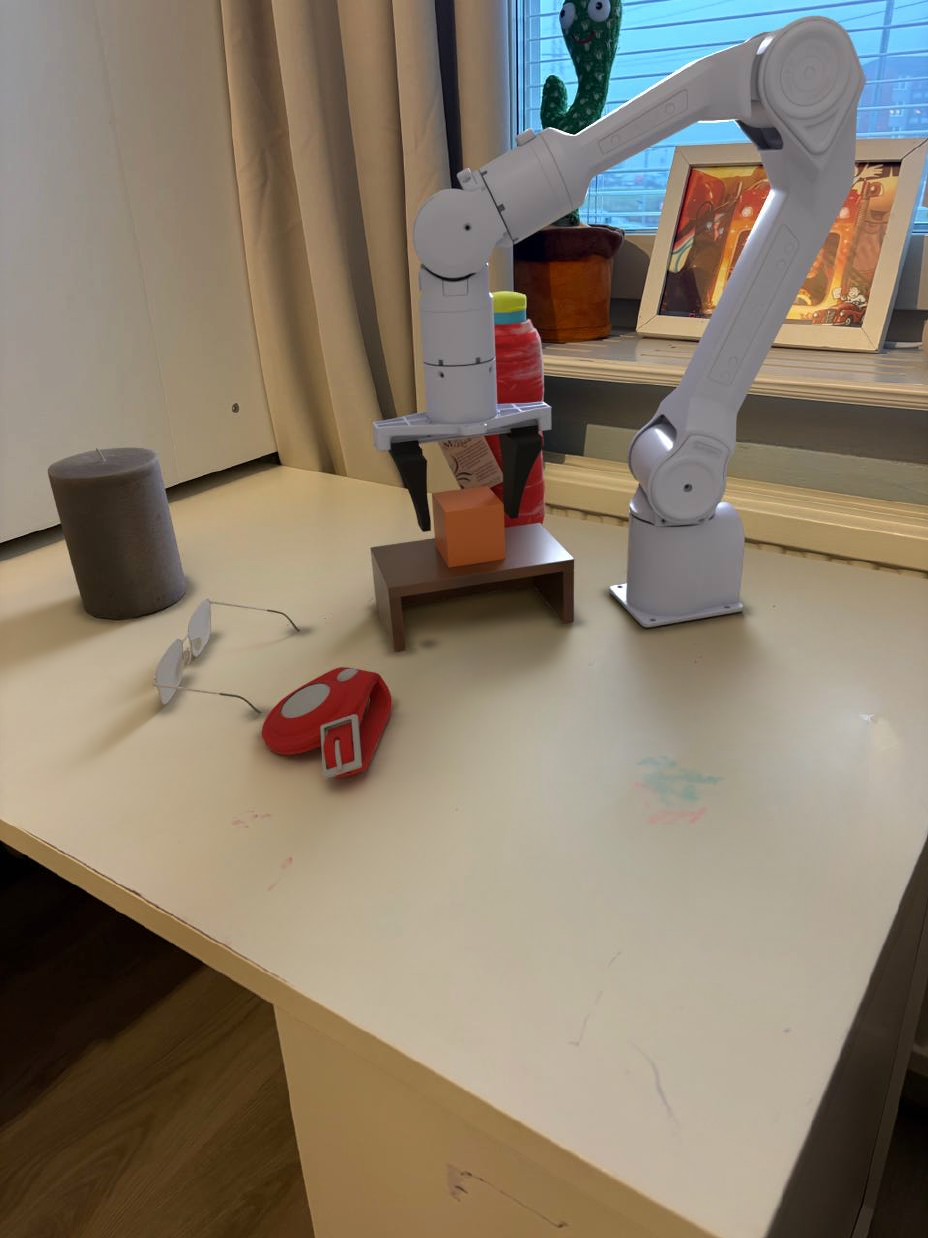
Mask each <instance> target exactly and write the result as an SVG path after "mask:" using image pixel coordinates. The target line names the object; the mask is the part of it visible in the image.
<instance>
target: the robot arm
mask: <svg viewBox="0 0 928 1238" xmlns="http://www.w3.org/2000/svg"><path fill="white" fill-rule="evenodd" d="M866 83H867V77H866V74H865V71H864V68H863V67H862V63H861V61H860V59H859V55H858V53H857V50H856V48H855V45H854V43H853V39H851V36H850V34H849V33H848V31H847V30H846V29H845V27H843V26H842V24H840V23H839V22H837V21H836V20H834V19H833V18H830V17H828V16H823V15H808V16H803V17H800V18H797V19H795V20H793V21H791V22H789V23H787V24H786V25H784V26H783V27H780V28H779V29H775V30H772V31H763V32H760V33H757V34H755V35H752V36H751V37H749V38H747V40H745V41H744V42H740V43H739V44H736V45H732V46H730V47H728V48H725V49H722V50H719V51H716V52H713V53H711V54H709V55H706V56H703V57H701V58H698V59H696V60H693V61H691V62H689V63H686V64H685V65H684V66H682V67H681V68H679V69H677V70H676V71H674V72H673V73H671V74H670V75H668V76H666V77H665V78H663V79H661V80H660V81H659V82H657V83H655V84H654V85H652V86H651V87H649V88H647V89H646V90H644V91H643V92H640V94H638V95H636V96H635V97H633V98H631V99H630V100H628V101H627V102H625V103H624V104H622V105H620V106H619V107H616V109H614V110H612V111H611V112H609V113H608V114H606V115H604V116H603V117H601V118H600V119H598V120H597V121H595V122H593V123H591V124H590V125H589V126H587V127H585V128H584V129H582V130H581V131H579V132H578V133H576V134H570V133H568V132H565V131H562V130H559V129H558V128H554V127H546V128H545V129H543V130H541V131H540V132H538V133H535V130H534V129H533V128H532V127H529V128H527V129H526V130H524V131H522V132H520V133H519V134H517V135H516V136H515V138H514V140H515V143H516V146H515V147H513V148H511V149H509V150H508V151H506V152H505V153H503V154H501V155H500V156H498V157H496V158H494V159H493V160H491V161H490V162H487V163H486V164H484V165H483V166H481V167H479V168H478V169H476V170H473V171H471V170H470V168H469V167H465V168H464V169H462V170H461V171H459V172H458V173H457V174H456V177H457V179H458V182H459V184H460V186H461V188H460V189H459V188H446V189H441V190H439V191H438V192H436V193H433V194H432V195H431V196H429V197H428V198H427V199H426V200H424V202H423V204H422V205H421V206H420V208H419V210H418V211H417V213H416V216H415V219H414V222H413V226H412V244H413V248H414V251H415V253H416V256H417V257H418V259H419V261H420V262H421V263H420V265H419V271H418V274H417V285H418V289H419V291H420V293H421V295H420V297H419V300H418V313H419V326H420V340H421V356H422V367H423V380H424V394H425V408H426V410H425V411H421V412H417V413H412V414H408V415H403V416H399V417H394V418H391V419H384V420H378V421H372V422H371V426H372V427H371V428H372V429H371V430H372V438H373V446H374V447H375V449H376V450H377V452H386V451H388V453H389V455H390V457H391V458H392V460H393V462H394V464H395V466H396V468H397V470H398V472H399V473H400V475H401V478H402V479H403V482H404V485H405V486H406V489H407V491H408V494H409V496H410V498H411V502H412V505H413V508H414V511H415V515H416V520H417V525H418V527H419V529H420V530H421V532H423V533H425V532H431V531H432V522H431V521H432V520H431V512H430V506H429V500H428V499H429V498H428V460H427V459H426V457H425V455H424V454H423V447H421V446H420V445H422V444H429V443H437V442H439V441H447V440H455V439H462V438H470V437H478V436H486V435H494V434H498V436H499V442H500V449H501V458H502V468H503V504H504V512H505V513H506V514H507V515H508V516H509V518H510V519H515V518H518V516H519V509H520V504H521V499H522V495H523V492H524V488H525V485H526V482H527V479H528V476H529V474H530V472H531V469H532V467H533V465H534V463H535V461H536V459H537V457H538V455H539V454H540V452H541V450H542V451H543V447H544V446H543V441H544V436H543V437H542V436H541V435H540V434H539V433H538V430H539V431H542V432H545V431H551V430H552V406H550V405H549V404H548V403H546V402H545V401H543V402H534V403H514V404H497V384H496V358H495V334H494V309H493V296H492V294H491V293H492V292H491V291H490V271H489V261H490V259H491V257H492V255H493V252H494V249H495V248H496V247H497V248H498V247H502V248H505V249H509V248H511V247H512V246H514V245H516V244H518V243H519V242H522V241H523V240H524V239H526V238H528V237H530V236H532V235H534V234H535V233H537V232H539V231H540V230H542V229H543V228H545V227H547V226H549V225H551V224H553V223H554V222H556V221H558V220H560V219H561V218H562V219H563V218H564V217H565V216H567V215H569V214H571V213H572V212H574V211H576V210H578V209H579V208H580V207H582V206H583V205H584V204H585V202H586V199H587V195H588V192H589V189H590V186H591V184H592V182H593V180H594V178H595V177H597V176H599V175H601V174H602V173H605V172H606V171H608V170H610V169H612V168H614V167H616V166H617V165H620V164H622V163H623V162H625V161H627V160H628V159H631V158H632V157H635V156H637V155H638V154H640V153H642V152H644V151H645V150H647V149H649V148H651V147H653V146H655V145H657V144H659V143H661V142H662V141H664V140H666V139H668V138H670V137H672V136H673V135H676V134H677V133H679V132H681V131H682V130H685V129H687V128H689V127H690V126H692V125H694V124H697V123H723V122H725V123H726V122H732V121H733V122H734V124H736V126H737V127H738V128H739V129H740V130H741V131H742V132H743V134H744V135H745V137H747V138H748V139H749V141H750V142H752V144H753V145H754V146H755V147H756V151H757V154H758V156H759V158H760V161H761V164H762V166H763V170H764V172H765V174H766V177H767V180H768V183H769V185H770V190H769V193H768V195H767V198H766V199H765V202H764V204H763V205H762V208H761V210H760V213H759V214H758V217H757V219H756V220H755V223H754V225H753V227H752V229H751V231H750V234H749V235H748V238H747V240H746V242H745V244H744V246H743V248H742V250H741V252H740V255H739V257H738V259H737V261H736V263H735V265H734V268H733V269H732V271H731V274H730V276H729V278H728V280H727V282H726V284H725V285H724V289H723V291H722V292H721V294H720V297H719V299H718V302H717V303H716V305H715V308H714V310H713V311H712V314H711V316H710V318H709V320H708V322H707V324H706V326H705V328H704V331H703V333H702V335H701V337H700V339H699V342H698V344H697V346H696V348H695V350H694V352H693V354H692V357H691V358H690V361H689V363H688V364H687V367H686V369H685V371H684V373H683V375H682V377H681V380H680V382H679V384H678V386H676V388H674V389H673V390H672V391H671V392H670V393H669V394H667V396H666V397H665V398H664V399H663V400H661V402H660V404H659V406H658V408H657V410H656V412H655V414H654V415H653V417H652V418H651V420H649V421H648V422H647V424H645V425H644V426H642V427H641V428H640V429H639V430H638V431H637V432H636V433H635V435H634V436H633V437H632V439H631V441H630V443H629V445H628V449H627V455H626V460H627V466H628V469H629V472H630V474H631V476H632V477H633V478H634V480H635V481H637V482H638V484H637V488H636V490H635V492H634V494H633V496H632V497H631V499H630V501H629V506H628V510H629V511H628V533H627V557H626V558H627V561H626V583H621V584H615V585H611V586H609V594H611V595H612V596H613V597H614V598H615V599H616V600H617V602H619V603H620V604H621V606H623V608H624V609H625V610H626V611H627V612H628V614H630V615H631V616H632V617H633V618H634V619H635V620H636V621H637V622H638V623H639V625H641V627H643V628H654V627H659V626H665V625H671V624H676V623H683V622H688V621H694V620H699V619H706V618H711V617H716V616H723V615H728V614H734V613H739V612H742V611H743V610H744V605H743V604H742V603H741V602H740V595H741V586H742V574H743V565H744V556H745V545H746V544H745V543H746V540H745V530H744V529H745V528H744V524H743V521H742V518H741V516H740V514H739V512H738V511H737V509H736V508H735V507H734V506H733V505H732V504H731V503H729V502H727V501H722V500H723V498H724V495H725V493H726V488H727V471H728V465H729V462H730V460H731V458H732V456H733V454H734V452H735V450H736V446H737V417H738V413H739V411H740V409H741V407H742V405H743V403H744V401H745V399H746V398H747V396H748V393H749V391H750V390H751V387H752V386H753V383H754V381H755V380H756V377H757V376H758V374H759V372H760V370H761V368H762V366H763V365H764V364H763V363H764V362H765V360H766V358H767V356H768V354H769V352H770V351H771V348H772V346H773V344H774V343H775V340H776V339H777V336H778V335H779V333H780V330H781V328H782V327H783V325H784V323H785V320H786V318H787V317H788V315H789V313H790V311H791V309H792V307H793V305H794V303H795V301H796V299H797V297H798V295H799V293H800V292H801V290H802V287H803V285H804V283H805V281H806V279H807V278H808V275H809V274H810V271H811V269H812V268H813V266H814V264H815V262H816V259H817V258H818V256H819V254H820V252H821V249H822V248H823V246H824V244H825V242H826V240H827V238H828V236H829V234H830V232H831V230H832V228H833V226H834V224H835V222H836V220H837V218H838V217H839V215H840V212H841V210H842V209H843V207H844V204H845V203H846V201H847V199H848V197H849V195H850V193H851V190H852V188H853V184H854V181H855V173H856V149H857V125H858V123H857V122H858V105H859V102H860V100H861V97H862V94H863V92H864V89H865V85H866Z"/></svg>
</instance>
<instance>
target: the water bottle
mask: <svg viewBox="0 0 928 1238" xmlns="http://www.w3.org/2000/svg"><path fill="white" fill-rule="evenodd" d="M490 293H491V294H492V296H493V309H494V334H495V358H496V384H497V404H514V403H534V402H544V397H545V396H544V395H545V372H544V370H545V369H544V367H545V366H544V353H543V346H542V339H541V336H540V334H539V332H538V330H537V328H535V327H534V324H533V322H532V319H530V318H527V296H526V294H523V293H520V292H516V291H509V290H505V291H504V290H503V291H494V292H490ZM538 433H539V434H540V435H541V436H542V437H543V438H544V435H543V431H539V430H538ZM436 443H437V444H438V446H439V448H440V450H441V453H442V454H443V456H444V459H445V461H446V462H447V464H448V467H449V468H450V471H451V472H452V475H453V476H454V479H455V480H456V483H457V485H458V487H459V488H460V489H466V488H474V487H481V486H488V487H489V488H490V490H491V491H492V492H493V493H494V494H495V495H496V496H497V497H498V499H499V500H500V501H501V502H502V503H503V468H502V458H501V449H500V442H499V436H498V434H494V435H486V436H478V437H470V438H462V439H455V440H447V441H439V442H436ZM544 446H545V442H544V440H543V446H542V447H544ZM543 457H544V456H543V449H542V450H541V452H540V454H539V455H538V457H537V459H536V461H535V463H534V465H533V467H532V469H531V472H530V474H529V476H528V479H527V482H526V485H525V488H524V492H523V495H522V499H521V504H520V509H519V516H518V518H515V519H510V518H509V516H508V515H507V514H506V513H505V512H504V528H508V527H515V526H522V525H529V524H536V523H541V525H542V526H543V524H544V521H545V517H546V483H545V471H544V459H543Z"/></svg>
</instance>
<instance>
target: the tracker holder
mask: <svg viewBox="0 0 928 1238" xmlns="http://www.w3.org/2000/svg"><path fill="white" fill-rule="evenodd" d="M391 693H392V692H391V691H390V688H389V686H388V685H387V683H386V682H385V680H384V678H383V677H382V675H381V674H380V673H378V672H375V671H369V670H364V669H360V668H355V667H349V666H340V667H336V668H333V669H331V670H329V671H327V672H325V673H323V674H321V675H319V676H317V677H315V678H314V679H312V680H309V681H308V682H307V683H305V684H304V685H301V686H300V687H298V688H297V689H295V690H293V691H291V692H290V693H289V694H287V695H286V696H285V697H283V698H282V699H281V700H280V701H278V703H277V704H276V705H275V706H273V708H272V709H271V710H270V711H269V713H268V714H267V716H266V718H265V719H264V722H263V724H262V727H261V737H262V740H263V741H264V743H265V744H266V746H267V747H268V749H270V751H272V752H274V753H276V754H279V755H287V756H288V755H297V754H302V753H306V752H309V751H312V750H314V749H317V748H319V747H321V762H322V777H323V778H325V779H329V778H332V777H335V778H336V779H337V778H338V779H341V778H346V777H350V776H353V775H357V774H359V773H362V772H364V771H365V770H367V769H368V767H369V765H370V763H371V761H372V758H373V755H374V753H375V750H376V748H377V745H378V743H379V742H380V739H381V736H382V734H383V732H384V730H385V728H386V725H387V722H388V720H389V718H390V715H391V712H392V708H393V698H392V694H391ZM367 704H368V706H367ZM366 708H367V709H366Z"/></svg>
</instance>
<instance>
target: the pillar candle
mask: <svg viewBox="0 0 928 1238" xmlns="http://www.w3.org/2000/svg"><path fill="white" fill-rule="evenodd" d="M47 475H48V480H49V484H50V488H51V491H52V495H53V499H54V503H55V507H56V510H57V514H58V518H59V523H60V525H61V529H62V532H63V536H64V540H65V545H66V549H67V551H68V555H69V556H68V557H69V559H70V563H71V566H72V571H73V574H74V578H75V582H76V585H77V587H78V592H79V595H80V598H81V602H82V605H83V608H84V610H85V612H86V613H87V614H89V615H91V616H94V617H97V618H103V619H110V620H111V619H114V620H119V619H122V620H123V619H124V620H126V619H127V620H128V619H132V618H136V617H141V616H145V615H149V614H152V613H155V612H158V611H161V610H163V609H165V608H168V607H170V606H172V605H174V604H175V603H177V602H178V601H179V600H180V599H182V597H183V596H184V595H185V593H186V591H187V584H186V578H185V574H184V570H183V564H182V560H181V556H180V552H179V547H178V543H177V536H176V533H175V528H174V523H173V519H172V514H171V509H170V505H169V500H168V496H167V492H166V486H165V483H164V479H163V474H162V469H161V463H160V459H159V452H158V451H156V450H154V449H148V448H144V447H133V446H132V447H112V448H102V449H99V447H96V448H95V449H91V450H88V451H84V452H82V453H77V454H74V455H70V456H67V457H65V458H62V459H59V460H58V461H56V462H54V463H52V464H50V465H49V466H48V468H47Z"/></svg>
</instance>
